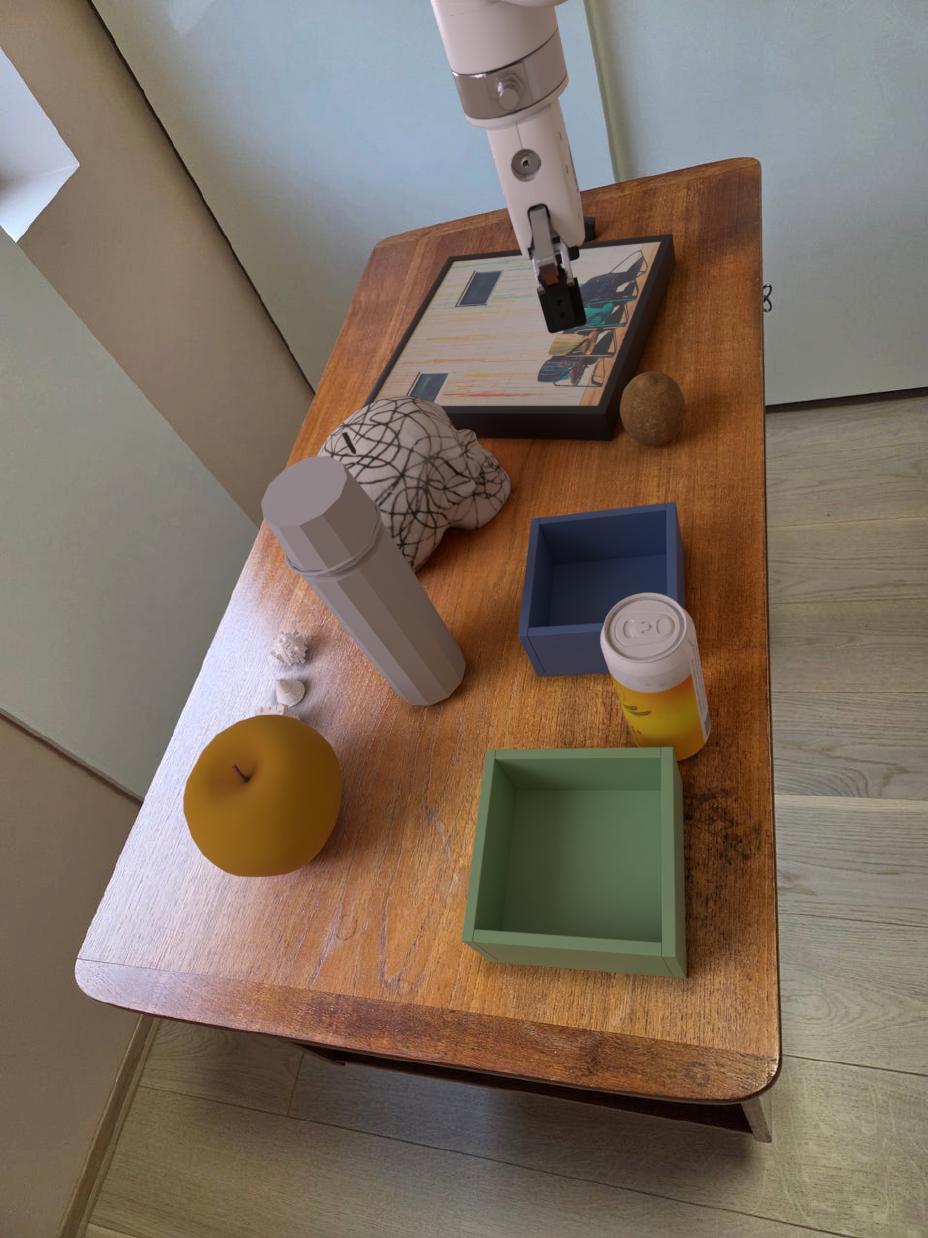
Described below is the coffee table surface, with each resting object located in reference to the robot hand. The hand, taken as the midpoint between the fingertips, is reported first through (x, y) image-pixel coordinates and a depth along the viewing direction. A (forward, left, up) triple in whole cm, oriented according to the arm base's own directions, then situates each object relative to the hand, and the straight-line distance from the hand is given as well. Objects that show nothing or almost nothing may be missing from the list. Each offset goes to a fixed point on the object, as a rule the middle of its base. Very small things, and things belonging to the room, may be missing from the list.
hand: (565, 293), depth 67 cm
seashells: (+30, +28, -19) cm, 45 cm away
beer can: (-6, +32, -19) cm, 38 cm away
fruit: (-5, 0, -19) cm, 20 cm away
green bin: (0, +44, -19) cm, 48 cm away
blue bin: (-1, +21, -18) cm, 28 cm away
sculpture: (+19, +9, -19) cm, 28 cm away
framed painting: (+11, -19, -19) cm, 29 cm away
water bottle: (+16, +26, -19) cm, 35 cm away
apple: (+25, +41, -19) cm, 51 cm away
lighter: (+7, -41, -19) cm, 46 cm away
